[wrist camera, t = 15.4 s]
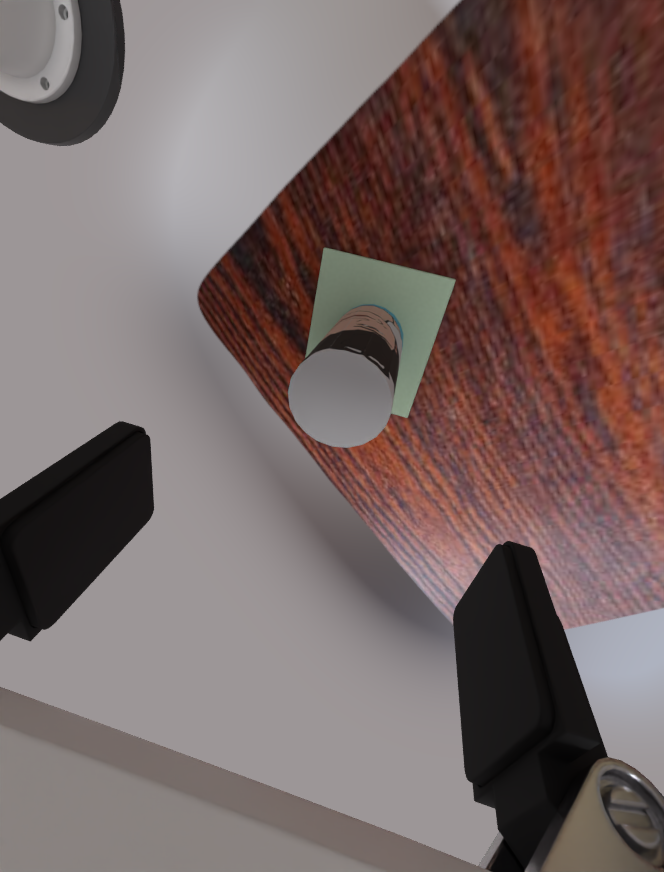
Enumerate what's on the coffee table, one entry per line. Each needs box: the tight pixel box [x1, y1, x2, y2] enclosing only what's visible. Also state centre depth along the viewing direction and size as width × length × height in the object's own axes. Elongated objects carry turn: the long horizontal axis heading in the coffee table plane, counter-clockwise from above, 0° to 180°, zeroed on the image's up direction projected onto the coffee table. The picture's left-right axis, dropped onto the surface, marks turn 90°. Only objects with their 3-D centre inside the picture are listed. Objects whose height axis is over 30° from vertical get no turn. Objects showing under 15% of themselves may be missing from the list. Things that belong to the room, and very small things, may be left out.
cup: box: [288, 304, 403, 448], centre depth 30 cm, size 7×7×15 cm
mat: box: [305, 247, 456, 418], centre depth 37 cm, size 12×14×1 cm
